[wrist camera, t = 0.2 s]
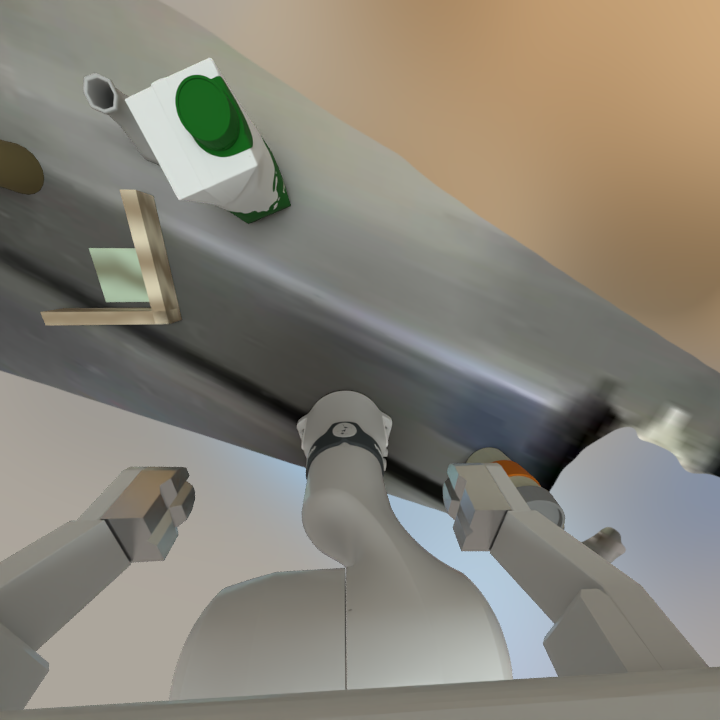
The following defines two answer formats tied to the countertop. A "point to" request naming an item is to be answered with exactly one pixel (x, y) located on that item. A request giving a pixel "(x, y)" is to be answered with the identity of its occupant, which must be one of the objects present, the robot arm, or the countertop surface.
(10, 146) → the cork
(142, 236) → the corner arena
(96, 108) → the flask
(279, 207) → the milk carton
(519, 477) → the reusable coffee cup
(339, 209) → the countertop surface
